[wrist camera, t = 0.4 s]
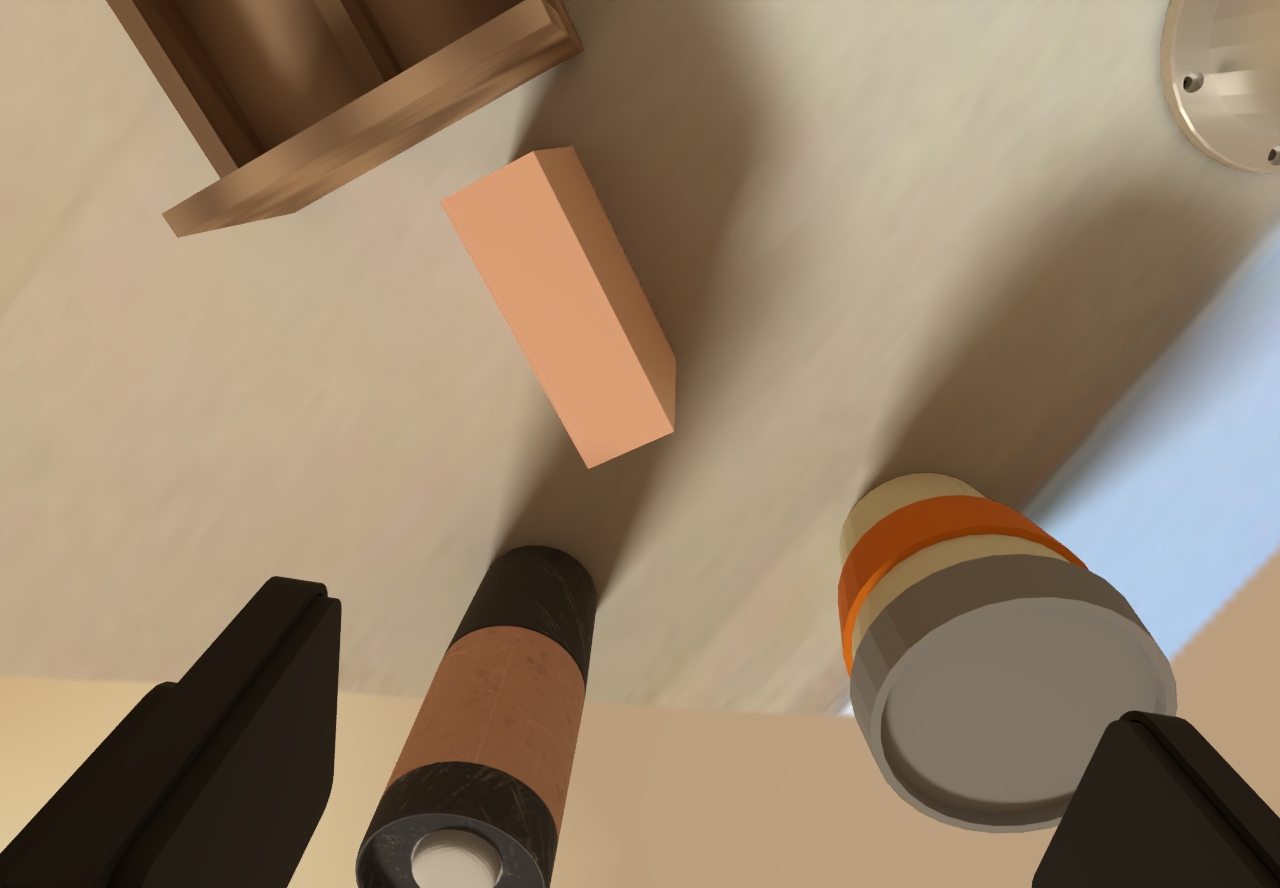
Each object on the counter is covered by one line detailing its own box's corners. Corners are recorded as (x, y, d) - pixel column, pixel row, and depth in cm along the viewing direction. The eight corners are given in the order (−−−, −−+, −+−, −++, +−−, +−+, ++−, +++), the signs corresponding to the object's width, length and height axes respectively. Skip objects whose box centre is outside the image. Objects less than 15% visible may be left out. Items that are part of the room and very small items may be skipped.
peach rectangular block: (572, 145, 38) (533, 151, 28) (676, 359, 42) (674, 431, 32) (502, 183, 39) (439, 201, 29) (610, 389, 43) (588, 469, 33)
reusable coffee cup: (797, 460, 44) (850, 613, 30) (1028, 426, 43) (1196, 570, 29) (819, 644, 48) (874, 850, 35) (1029, 619, 47) (1175, 823, 33)
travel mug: (580, 528, 46) (512, 794, 28) (616, 633, 49) (576, 940, 30) (460, 555, 47) (318, 828, 29) (502, 657, 50) (395, 966, 32)
